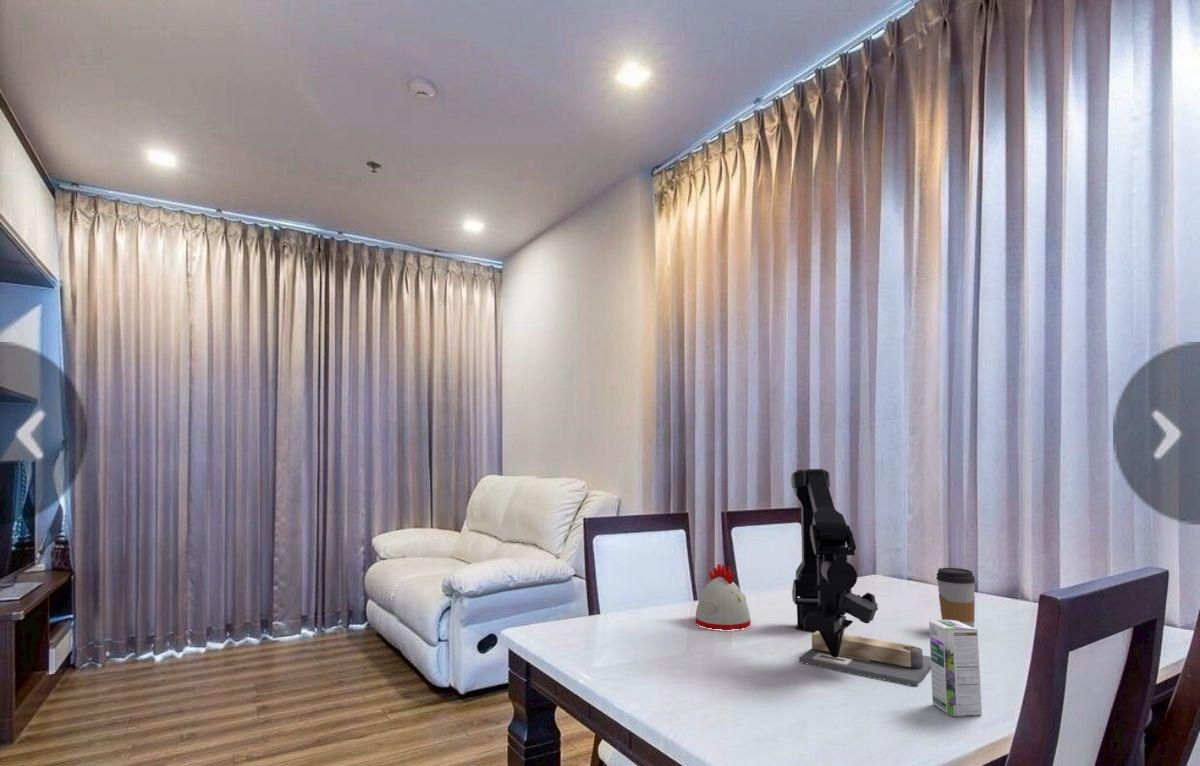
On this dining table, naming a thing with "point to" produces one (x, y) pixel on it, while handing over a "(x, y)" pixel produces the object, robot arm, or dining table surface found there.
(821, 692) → the dining table surface
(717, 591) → the kitchen timer
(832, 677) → the dining table surface
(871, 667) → the label panel
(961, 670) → the syrup box
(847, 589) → the robot arm
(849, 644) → the swing arm
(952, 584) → the coffee cup
